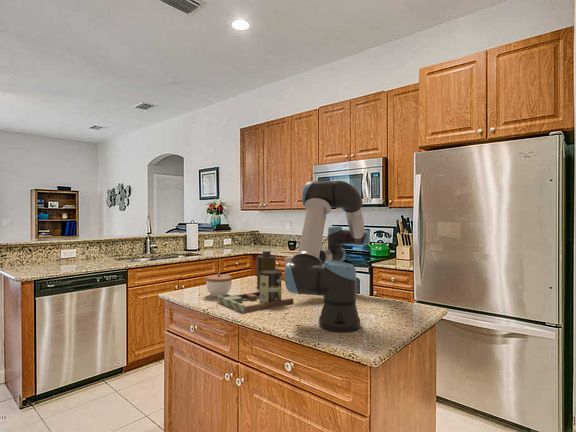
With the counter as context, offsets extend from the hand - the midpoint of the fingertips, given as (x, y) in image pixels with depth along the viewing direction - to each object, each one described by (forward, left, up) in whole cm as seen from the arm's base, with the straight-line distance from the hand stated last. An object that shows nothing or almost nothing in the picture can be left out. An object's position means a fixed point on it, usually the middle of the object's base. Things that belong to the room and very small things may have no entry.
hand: (285, 260), depth 173 cm
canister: (+27, -7, -19) cm, 33 cm away
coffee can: (0, +9, -19) cm, 21 cm away
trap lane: (+2, +15, -18) cm, 24 cm away
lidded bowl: (+26, +22, -19) cm, 38 cm away
